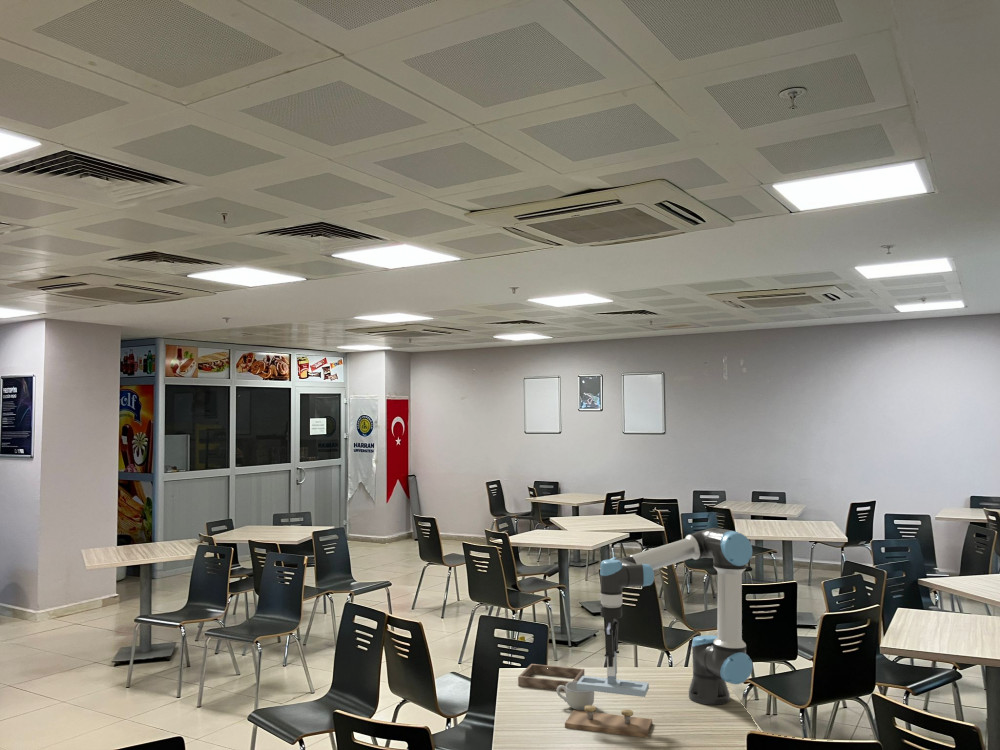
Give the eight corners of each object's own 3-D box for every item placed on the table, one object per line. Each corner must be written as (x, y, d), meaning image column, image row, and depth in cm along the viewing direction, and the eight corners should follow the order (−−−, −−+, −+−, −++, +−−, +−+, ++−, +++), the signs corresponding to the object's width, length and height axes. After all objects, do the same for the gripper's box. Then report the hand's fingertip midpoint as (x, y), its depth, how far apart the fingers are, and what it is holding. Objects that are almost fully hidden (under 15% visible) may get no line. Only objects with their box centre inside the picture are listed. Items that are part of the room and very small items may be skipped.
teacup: (597, 704, 288) (597, 682, 289) (591, 714, 278) (591, 691, 279) (561, 700, 293) (561, 678, 293) (553, 709, 283) (553, 687, 283)
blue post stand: (648, 688, 268) (648, 651, 269) (644, 696, 260) (644, 658, 261) (582, 681, 276) (582, 645, 277) (576, 689, 267) (576, 652, 268)
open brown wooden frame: (584, 677, 319) (584, 669, 319) (574, 691, 302) (574, 682, 302) (531, 672, 327) (531, 663, 327) (518, 685, 310) (518, 676, 310)
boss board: (652, 723, 269) (651, 707, 269) (646, 737, 257) (646, 720, 257) (573, 714, 278) (573, 698, 278) (564, 727, 266) (564, 711, 266)
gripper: (605, 599, 278) (605, 666, 277) (596, 609, 264) (596, 680, 262) (626, 601, 276) (626, 668, 274) (618, 611, 261) (618, 682, 260)
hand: (612, 674), depth 268 cm, fingers closed on blue post stand, 3 cm apart
